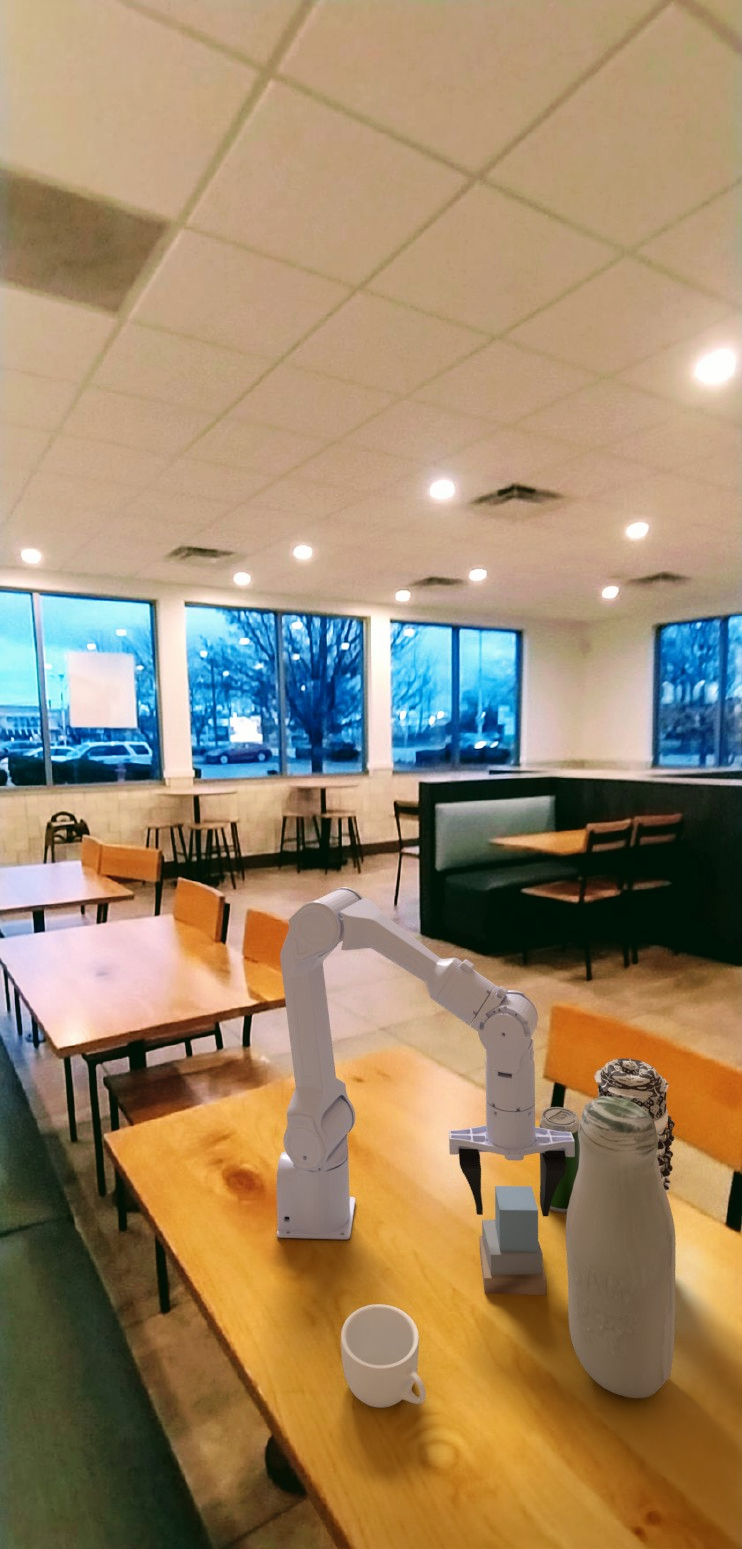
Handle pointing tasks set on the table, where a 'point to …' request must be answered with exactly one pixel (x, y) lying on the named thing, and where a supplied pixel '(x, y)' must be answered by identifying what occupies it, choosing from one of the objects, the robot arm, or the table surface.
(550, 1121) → the beer can
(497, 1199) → the slate blue block
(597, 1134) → the glass bottle
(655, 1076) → the decorative candle
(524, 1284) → the walnut base block
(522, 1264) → the grey middle block
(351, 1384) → the teacup
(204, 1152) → the table surface
